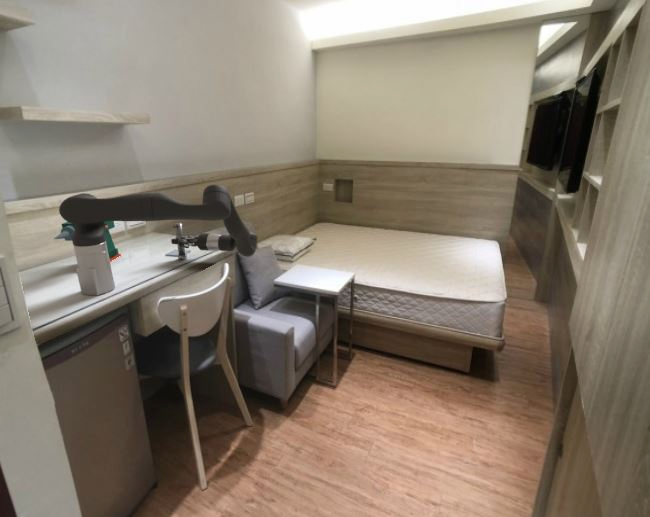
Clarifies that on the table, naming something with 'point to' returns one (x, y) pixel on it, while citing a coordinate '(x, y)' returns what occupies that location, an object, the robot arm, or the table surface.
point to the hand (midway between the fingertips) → (174, 240)
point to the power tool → (112, 251)
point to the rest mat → (175, 252)
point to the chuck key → (180, 236)
